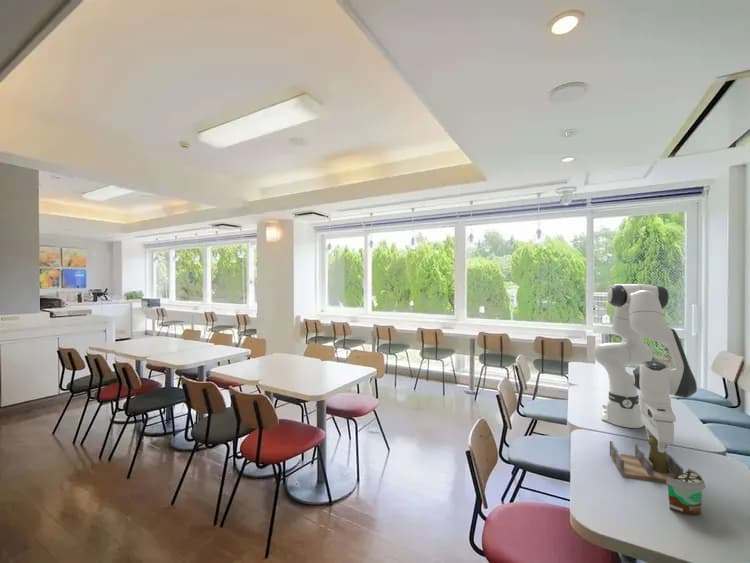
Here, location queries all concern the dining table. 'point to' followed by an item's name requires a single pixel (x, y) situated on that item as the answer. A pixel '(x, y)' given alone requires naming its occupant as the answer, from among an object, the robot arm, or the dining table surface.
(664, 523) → the dining table surface
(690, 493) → the food container
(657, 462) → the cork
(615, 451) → the slot rack
